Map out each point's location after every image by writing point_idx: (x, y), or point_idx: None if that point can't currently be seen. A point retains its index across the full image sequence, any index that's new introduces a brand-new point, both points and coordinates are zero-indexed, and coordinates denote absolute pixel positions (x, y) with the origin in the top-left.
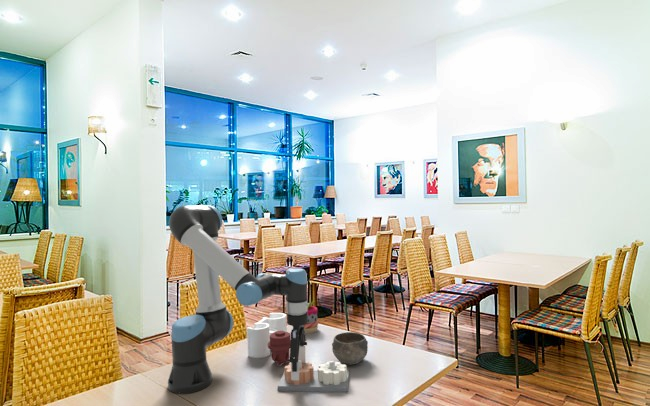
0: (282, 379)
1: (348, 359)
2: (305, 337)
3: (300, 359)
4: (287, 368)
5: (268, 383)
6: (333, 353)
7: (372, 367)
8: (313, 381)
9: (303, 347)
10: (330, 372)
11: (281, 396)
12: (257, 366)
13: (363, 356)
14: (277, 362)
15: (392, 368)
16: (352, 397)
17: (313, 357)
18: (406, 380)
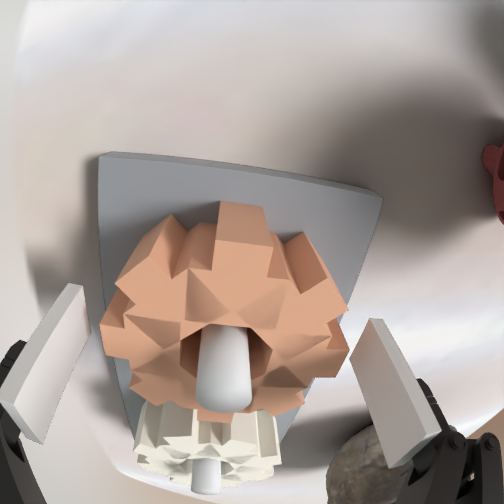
0: (212, 181)
1: (331, 467)
2: (461, 491)
3: (373, 357)
4: (196, 270)
5: (232, 66)
6: None
7: (313, 467)
8: None
9: (392, 457)
10: (146, 458)
11: (47, 189)
12: (488, 32)
13: (326, 488)
14: (497, 151)
15: (292, 486)
16: (105, 428)
17: (483, 324)
18: (219, 494)
